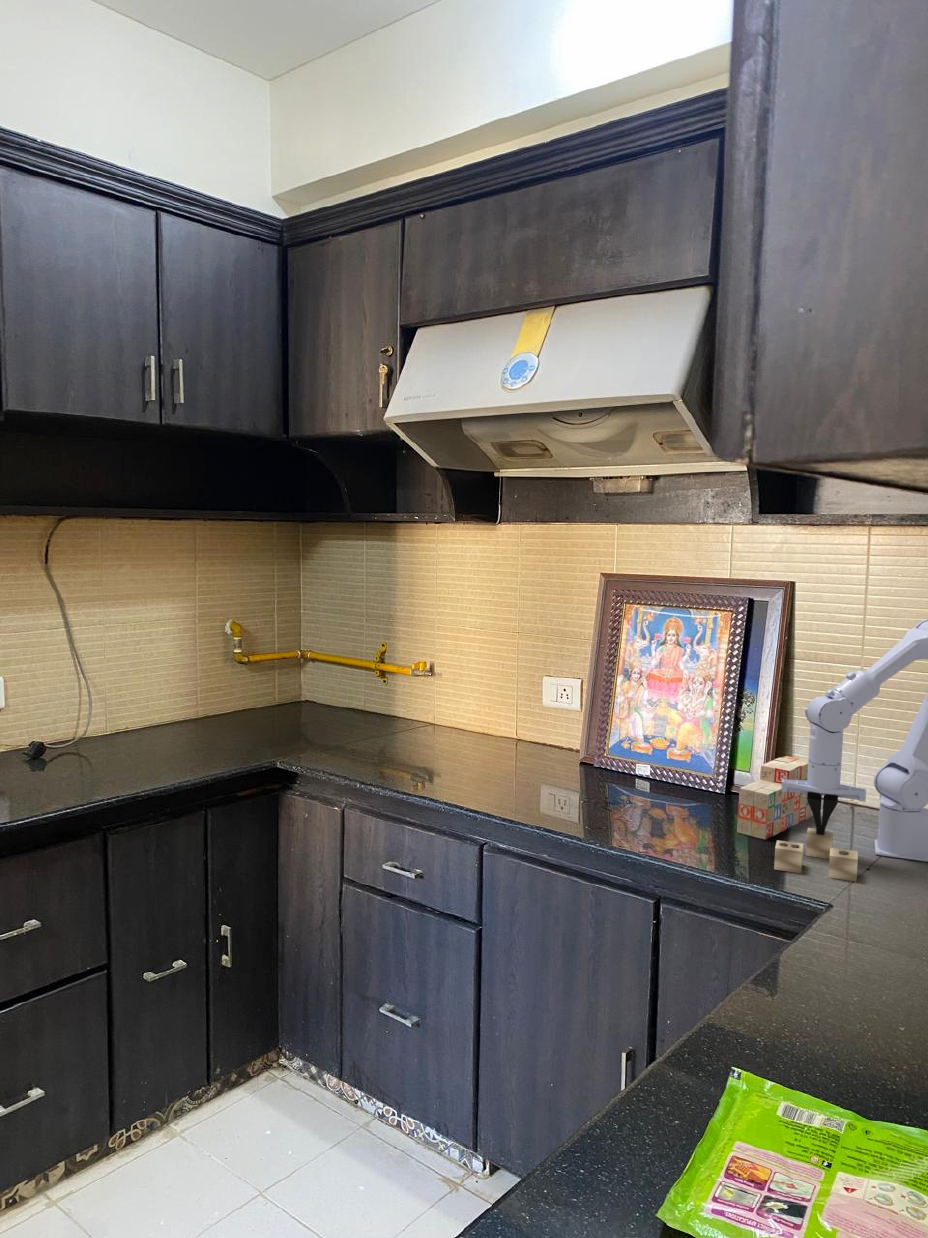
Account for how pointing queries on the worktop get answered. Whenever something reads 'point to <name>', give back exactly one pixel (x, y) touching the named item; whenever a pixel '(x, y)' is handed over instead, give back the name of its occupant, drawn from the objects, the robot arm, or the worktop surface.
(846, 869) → the one-dot maple block
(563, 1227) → the worktop surface
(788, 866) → the two-dot maple block
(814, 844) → the plain maple block
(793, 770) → the stack of blocks
